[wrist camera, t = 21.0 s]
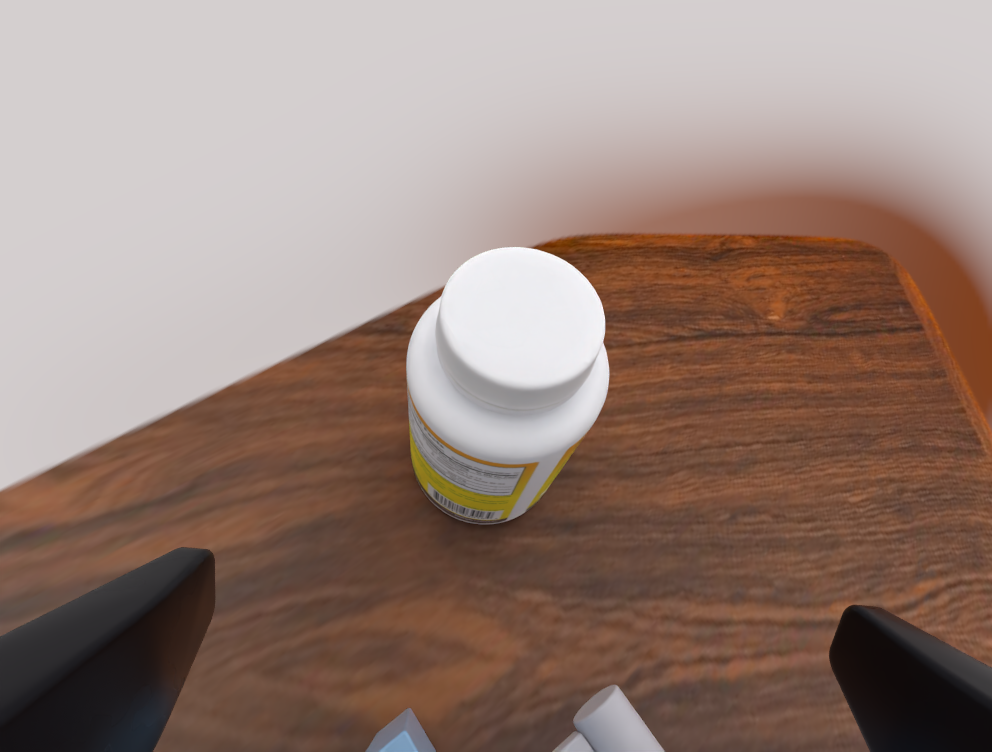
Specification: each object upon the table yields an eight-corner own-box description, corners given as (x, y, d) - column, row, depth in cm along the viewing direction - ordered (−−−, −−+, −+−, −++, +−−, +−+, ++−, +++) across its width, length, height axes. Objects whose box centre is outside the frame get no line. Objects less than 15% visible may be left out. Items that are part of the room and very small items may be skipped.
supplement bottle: (522, 378, 24) (586, 203, 15) (573, 503, 22) (683, 385, 13) (393, 412, 23) (377, 240, 14) (432, 549, 20) (445, 453, 11)
